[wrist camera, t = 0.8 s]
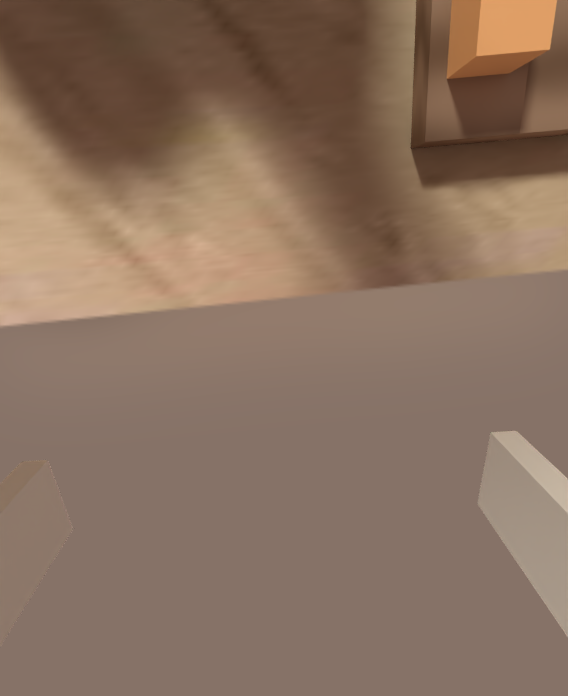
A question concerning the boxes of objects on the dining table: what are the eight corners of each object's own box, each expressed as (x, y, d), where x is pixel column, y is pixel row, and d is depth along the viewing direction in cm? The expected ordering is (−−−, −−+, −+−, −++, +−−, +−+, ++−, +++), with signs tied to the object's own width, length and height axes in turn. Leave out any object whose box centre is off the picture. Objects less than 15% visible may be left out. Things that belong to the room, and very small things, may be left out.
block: (451, -1, 24) (484, -40, 20) (518, -7, 24) (564, -48, 20) (446, 78, 25) (476, 56, 22) (509, 73, 25) (549, 49, 22)
